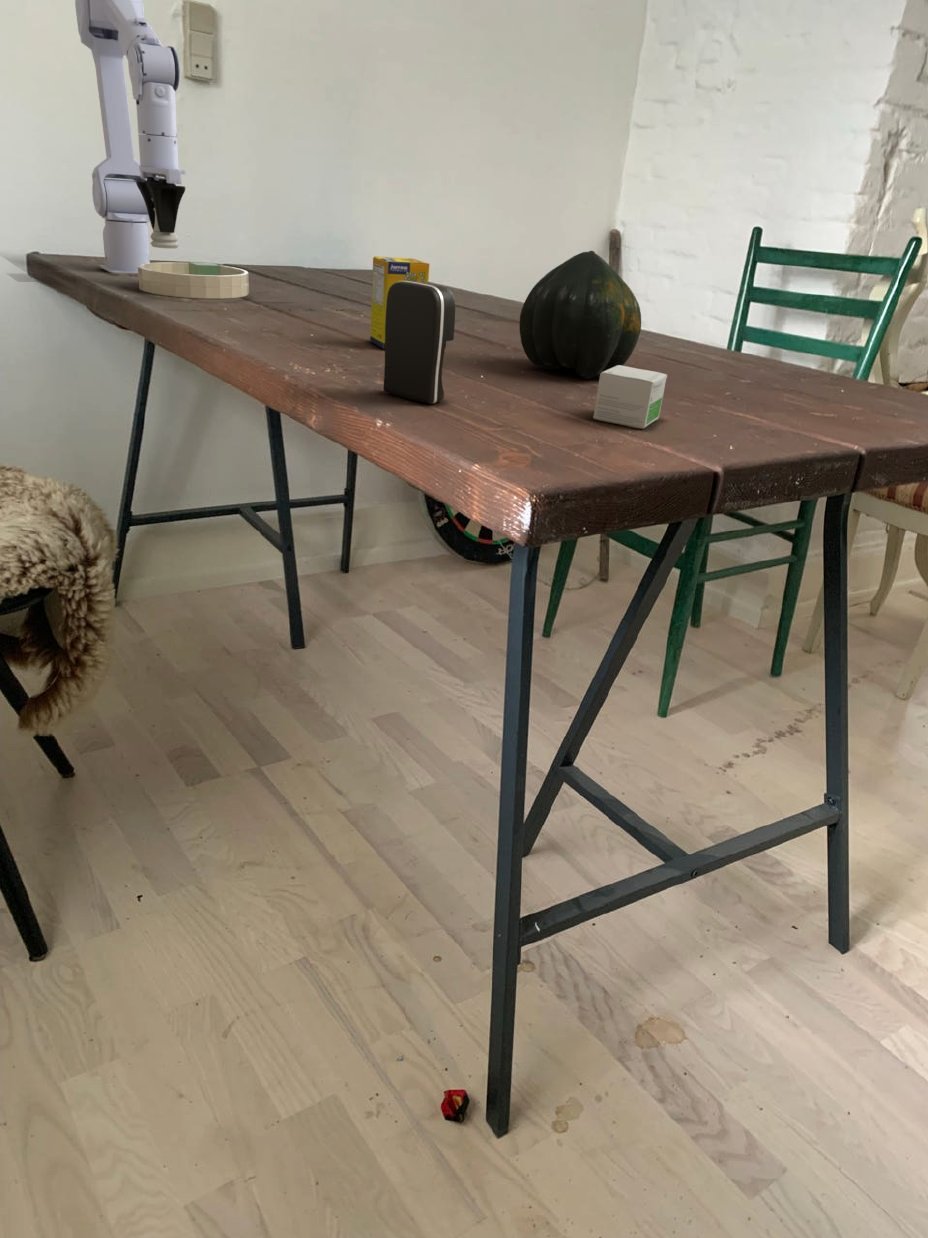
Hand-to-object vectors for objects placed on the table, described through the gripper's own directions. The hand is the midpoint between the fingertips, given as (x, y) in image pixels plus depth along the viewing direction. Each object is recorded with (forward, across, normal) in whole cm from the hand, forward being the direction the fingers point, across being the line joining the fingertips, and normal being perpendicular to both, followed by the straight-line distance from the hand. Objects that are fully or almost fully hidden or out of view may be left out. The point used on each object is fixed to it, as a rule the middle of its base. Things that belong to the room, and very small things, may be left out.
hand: (163, 231), depth 146 cm
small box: (+9, -91, -19) cm, 93 cm away
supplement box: (+9, -50, -15) cm, 53 cm away
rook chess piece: (+3, 0, 0) cm, 3 cm away
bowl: (+9, -4, -4) cm, 11 cm away
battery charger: (+9, -77, -2) cm, 77 cm away
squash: (+9, -69, -30) cm, 76 cm away
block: (+9, -2, -6) cm, 11 cm away
